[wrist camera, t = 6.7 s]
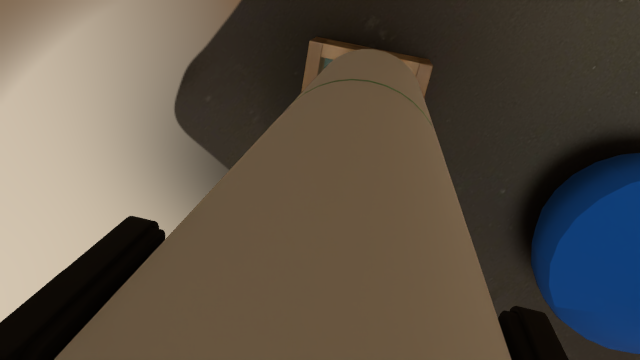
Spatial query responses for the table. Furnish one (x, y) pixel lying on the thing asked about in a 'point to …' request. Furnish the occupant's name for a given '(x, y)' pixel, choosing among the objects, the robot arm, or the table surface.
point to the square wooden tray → (329, 50)
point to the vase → (594, 252)
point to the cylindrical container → (316, 244)
